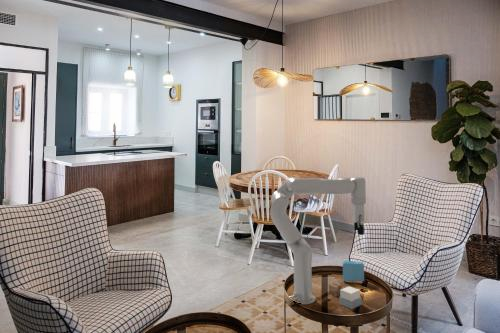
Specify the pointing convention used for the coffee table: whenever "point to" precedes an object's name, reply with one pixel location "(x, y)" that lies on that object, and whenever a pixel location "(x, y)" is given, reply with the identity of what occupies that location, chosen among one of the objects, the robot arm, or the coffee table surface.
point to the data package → (353, 271)
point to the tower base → (350, 302)
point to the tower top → (350, 293)
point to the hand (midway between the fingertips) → (359, 232)
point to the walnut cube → (335, 289)
